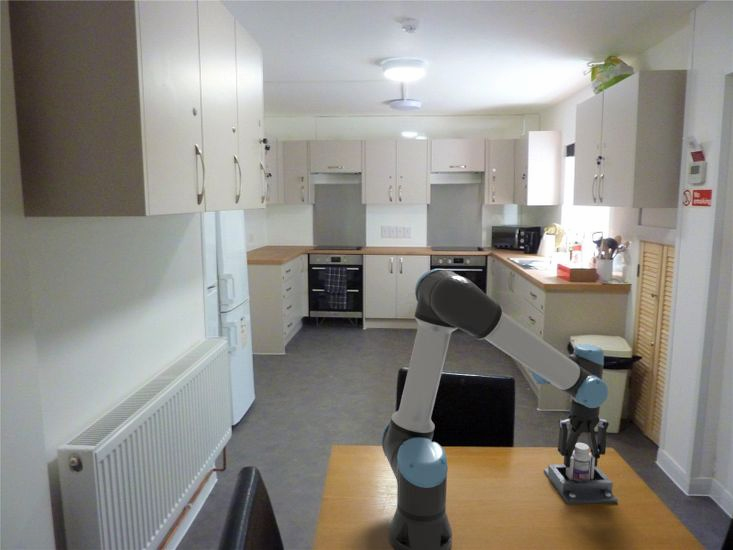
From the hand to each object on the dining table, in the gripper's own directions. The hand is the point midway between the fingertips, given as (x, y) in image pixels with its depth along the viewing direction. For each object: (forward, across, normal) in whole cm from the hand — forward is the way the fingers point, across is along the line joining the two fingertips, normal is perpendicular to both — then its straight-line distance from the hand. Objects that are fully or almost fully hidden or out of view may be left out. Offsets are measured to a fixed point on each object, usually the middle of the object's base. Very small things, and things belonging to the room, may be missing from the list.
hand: (579, 476), depth 143 cm
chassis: (+3, 0, 0) cm, 3 cm away
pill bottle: (+1, 0, 0) cm, 1 cm away
